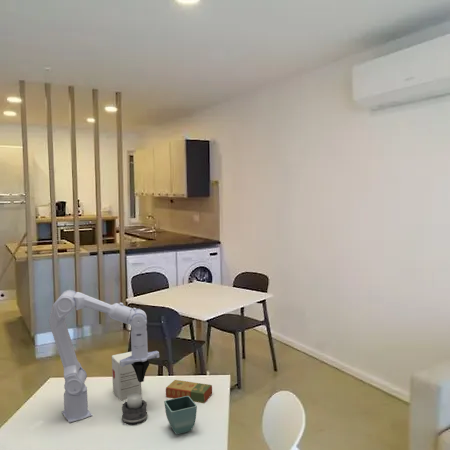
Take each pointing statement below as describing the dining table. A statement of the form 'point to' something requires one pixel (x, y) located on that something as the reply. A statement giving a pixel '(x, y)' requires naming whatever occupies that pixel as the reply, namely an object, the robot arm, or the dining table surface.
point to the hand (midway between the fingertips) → (140, 381)
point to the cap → (134, 401)
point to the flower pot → (181, 414)
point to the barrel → (134, 414)
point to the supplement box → (124, 377)
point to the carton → (189, 390)
